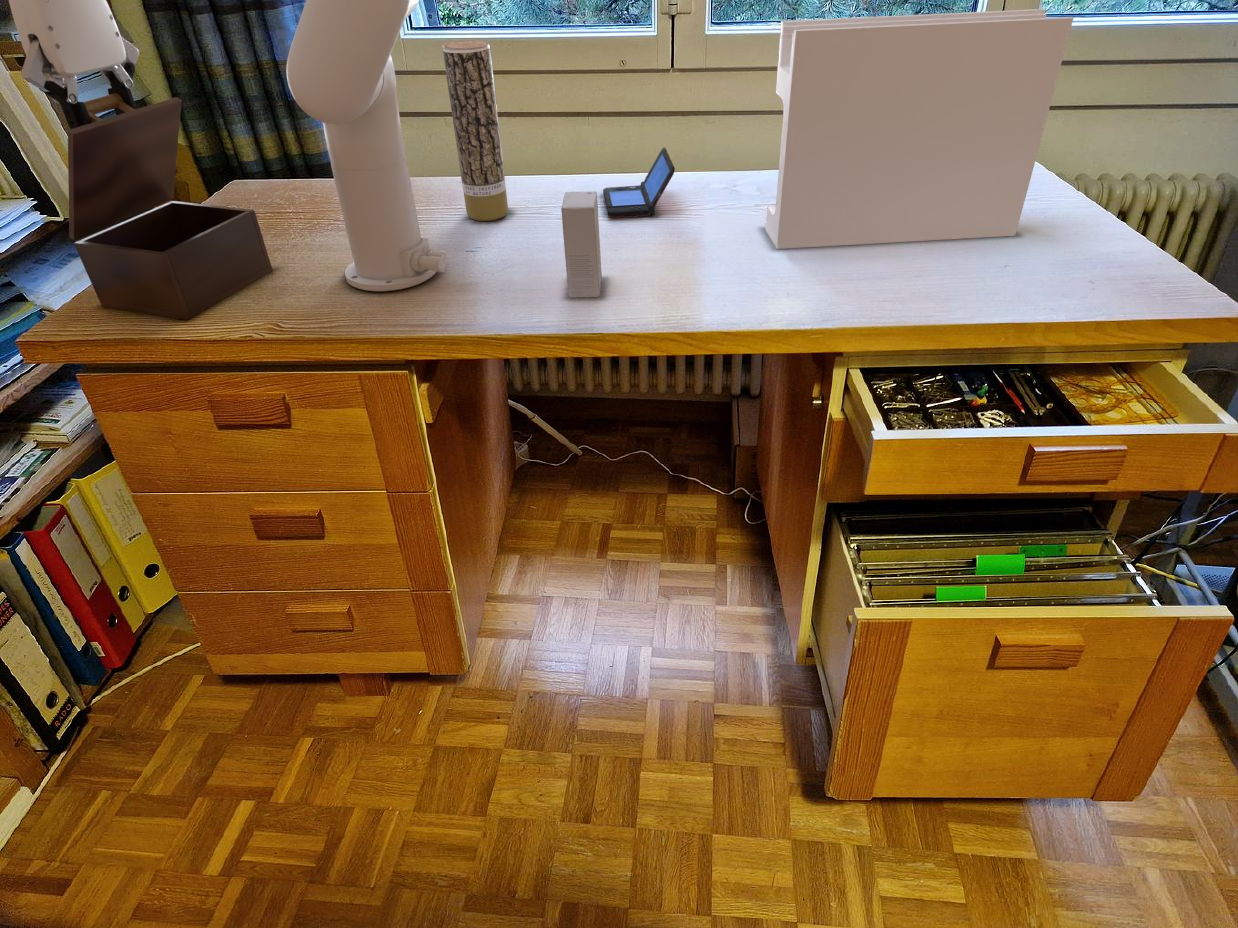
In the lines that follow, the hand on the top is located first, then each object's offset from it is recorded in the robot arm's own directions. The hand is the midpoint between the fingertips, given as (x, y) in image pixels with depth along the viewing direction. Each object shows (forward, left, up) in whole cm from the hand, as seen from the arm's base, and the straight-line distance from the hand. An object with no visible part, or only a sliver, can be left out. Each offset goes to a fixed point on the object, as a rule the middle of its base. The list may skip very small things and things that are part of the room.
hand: (108, 128), depth 101 cm
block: (-93, -46, -21) cm, 106 cm away
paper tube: (-31, -37, -21) cm, 53 cm away
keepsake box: (-4, 0, -21) cm, 21 cm away
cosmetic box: (-57, -15, -21) cm, 62 cm away
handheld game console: (-53, -48, -21) cm, 75 cm away
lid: (-1, 0, -5) cm, 5 cm away
